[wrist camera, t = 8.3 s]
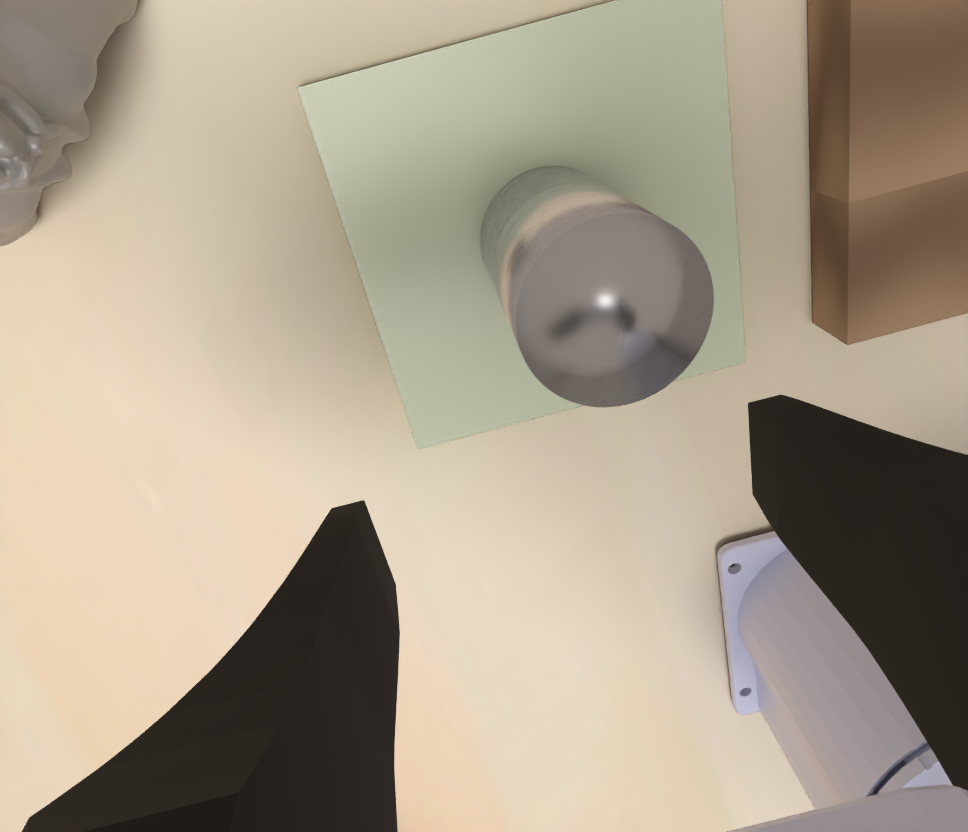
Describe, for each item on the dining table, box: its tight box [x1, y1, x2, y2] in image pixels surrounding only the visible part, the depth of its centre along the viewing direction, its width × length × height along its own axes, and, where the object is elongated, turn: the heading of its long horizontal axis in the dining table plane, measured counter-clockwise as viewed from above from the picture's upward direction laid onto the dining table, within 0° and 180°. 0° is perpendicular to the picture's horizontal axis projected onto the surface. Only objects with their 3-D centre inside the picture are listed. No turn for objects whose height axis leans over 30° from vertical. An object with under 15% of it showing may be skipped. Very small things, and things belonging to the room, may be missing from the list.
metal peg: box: [480, 166, 714, 407], centre depth 17 cm, size 4×4×7 cm
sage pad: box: [297, 0, 746, 449], centre depth 20 cm, size 11×11×1 cm
